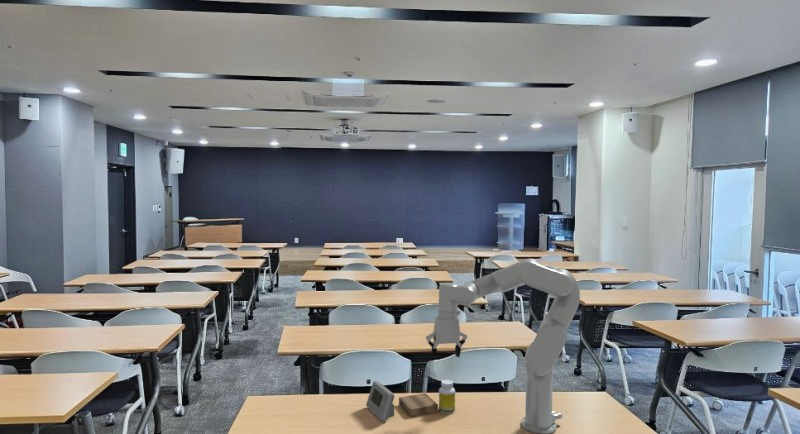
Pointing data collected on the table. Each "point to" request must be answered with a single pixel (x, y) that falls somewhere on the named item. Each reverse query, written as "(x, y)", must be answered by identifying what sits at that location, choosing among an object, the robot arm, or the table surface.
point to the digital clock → (381, 401)
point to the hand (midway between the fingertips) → (445, 356)
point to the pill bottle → (447, 397)
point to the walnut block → (418, 405)
